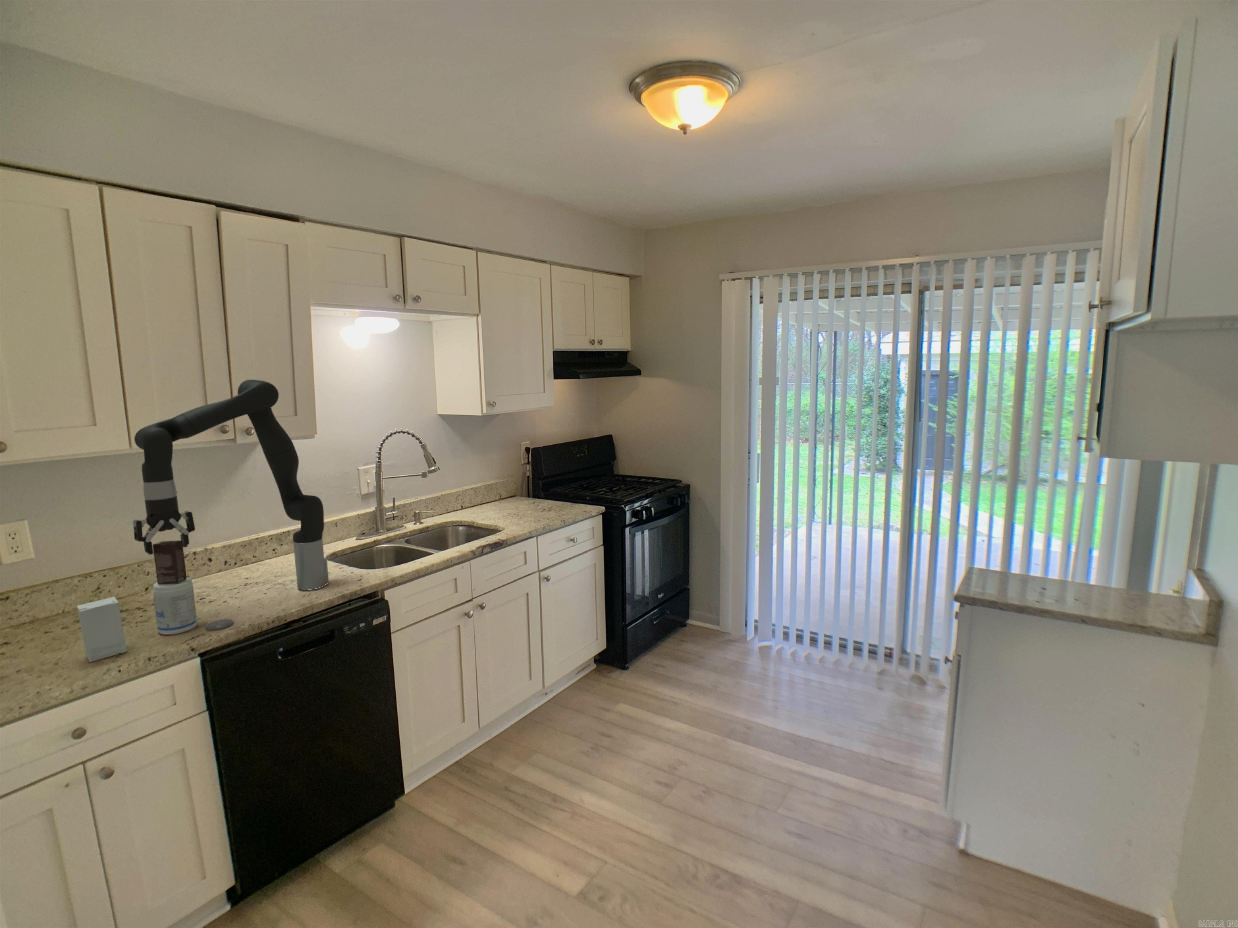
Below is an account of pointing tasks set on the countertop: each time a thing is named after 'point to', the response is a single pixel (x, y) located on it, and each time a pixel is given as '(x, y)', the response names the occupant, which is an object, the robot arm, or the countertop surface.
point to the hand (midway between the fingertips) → (167, 550)
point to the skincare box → (102, 628)
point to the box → (169, 562)
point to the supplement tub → (174, 607)
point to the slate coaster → (219, 624)
